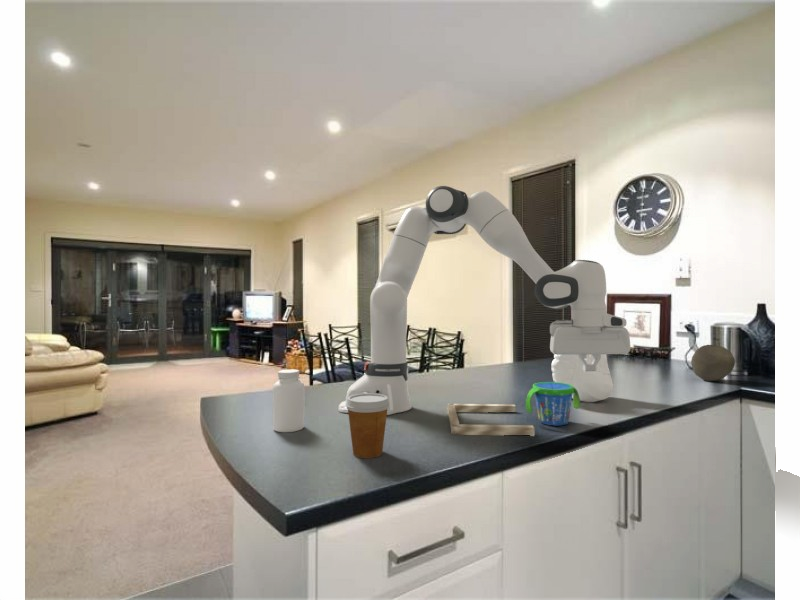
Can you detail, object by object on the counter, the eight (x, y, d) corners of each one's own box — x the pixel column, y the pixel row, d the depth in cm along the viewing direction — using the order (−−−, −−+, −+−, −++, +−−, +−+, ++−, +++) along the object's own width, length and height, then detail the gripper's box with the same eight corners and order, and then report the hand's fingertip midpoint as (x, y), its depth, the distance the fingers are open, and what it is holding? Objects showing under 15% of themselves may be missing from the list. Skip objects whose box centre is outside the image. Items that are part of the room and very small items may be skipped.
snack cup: (535, 430, 108) (535, 390, 109) (517, 419, 119) (517, 382, 119) (591, 427, 111) (591, 388, 111) (569, 416, 121) (568, 380, 121)
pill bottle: (276, 434, 105) (276, 374, 105) (270, 426, 112) (270, 369, 112) (308, 430, 109) (308, 371, 109) (300, 422, 116) (300, 367, 116)
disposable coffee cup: (346, 446, 96) (346, 393, 96) (388, 445, 97) (388, 392, 97) (344, 462, 87) (344, 403, 87) (391, 460, 88) (391, 402, 88)
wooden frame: (452, 434, 105) (452, 426, 105) (447, 410, 129) (447, 403, 129) (534, 436, 103) (534, 427, 103) (514, 411, 127) (514, 404, 127)
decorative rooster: (589, 392, 153) (588, 324, 154) (625, 402, 139) (624, 326, 139) (530, 398, 145) (530, 325, 146) (562, 408, 130) (562, 327, 131)
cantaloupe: (702, 383, 170) (702, 346, 170) (685, 377, 184) (685, 343, 184) (742, 384, 168) (742, 346, 168) (721, 378, 181) (721, 343, 182)
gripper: (553, 320, 112) (554, 373, 112) (632, 319, 111) (633, 372, 111) (546, 319, 118) (547, 369, 118) (621, 318, 117) (622, 369, 117)
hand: (589, 371), depth 115 cm, fingers closed
